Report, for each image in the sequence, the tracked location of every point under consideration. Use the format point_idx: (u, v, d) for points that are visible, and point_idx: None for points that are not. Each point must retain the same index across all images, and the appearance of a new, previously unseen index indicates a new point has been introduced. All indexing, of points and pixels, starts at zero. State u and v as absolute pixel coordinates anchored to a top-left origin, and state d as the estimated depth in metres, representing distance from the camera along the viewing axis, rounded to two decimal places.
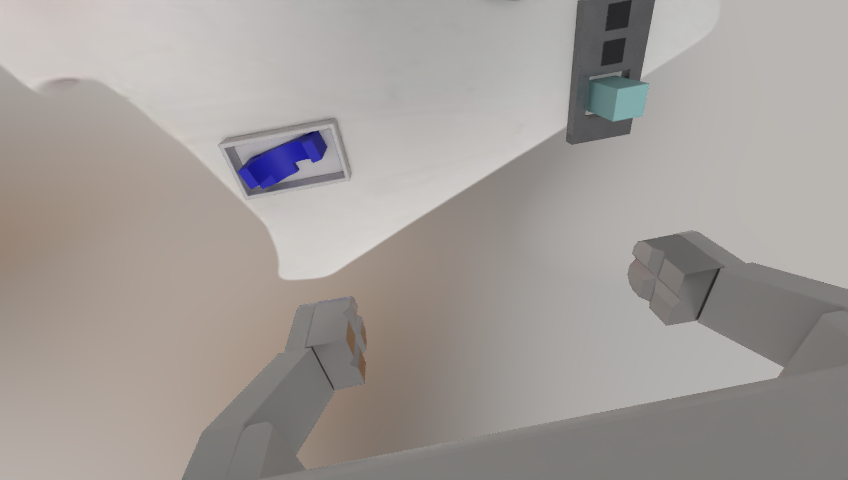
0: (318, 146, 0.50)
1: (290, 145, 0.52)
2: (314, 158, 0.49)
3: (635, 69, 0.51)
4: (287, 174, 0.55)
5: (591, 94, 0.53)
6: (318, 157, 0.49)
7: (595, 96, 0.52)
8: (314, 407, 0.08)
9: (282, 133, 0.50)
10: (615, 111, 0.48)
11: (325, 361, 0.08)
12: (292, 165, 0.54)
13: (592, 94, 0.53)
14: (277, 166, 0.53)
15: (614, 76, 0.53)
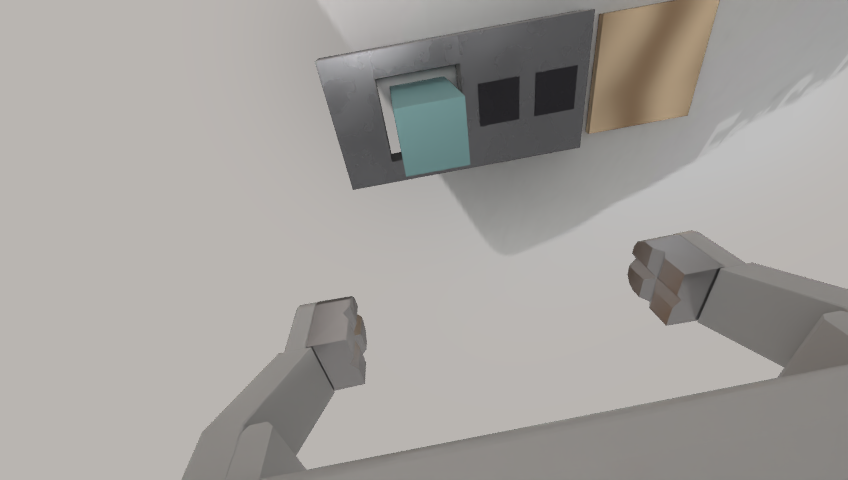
0: None
1: None
2: None
3: None
4: None
5: (423, 83, 0.26)
6: None
7: (424, 86, 0.25)
8: (314, 407, 0.08)
9: None
10: (415, 107, 0.20)
11: (325, 361, 0.08)
12: None
13: (424, 84, 0.25)
14: None
15: None
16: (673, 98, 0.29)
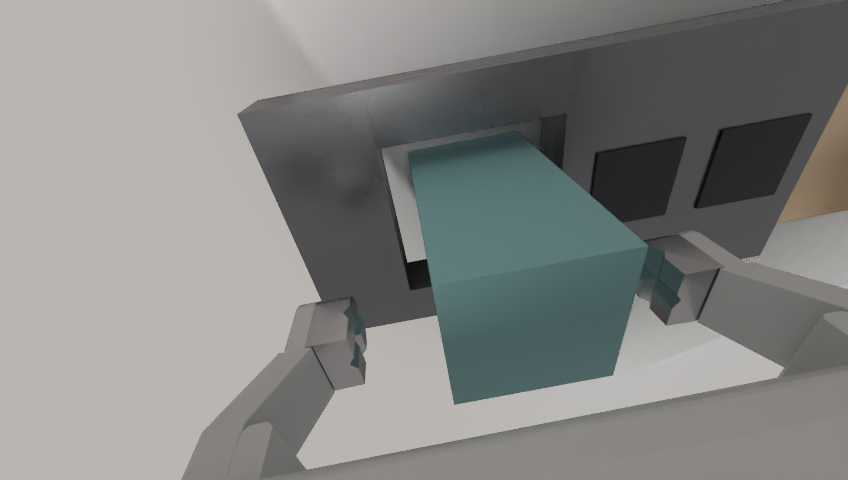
0: None
1: None
2: None
3: None
4: None
5: (480, 152, 0.12)
6: None
7: (486, 165, 0.11)
8: (314, 407, 0.08)
9: None
10: (500, 279, 0.07)
11: (325, 361, 0.08)
12: None
13: (483, 154, 0.12)
14: None
15: None
16: None
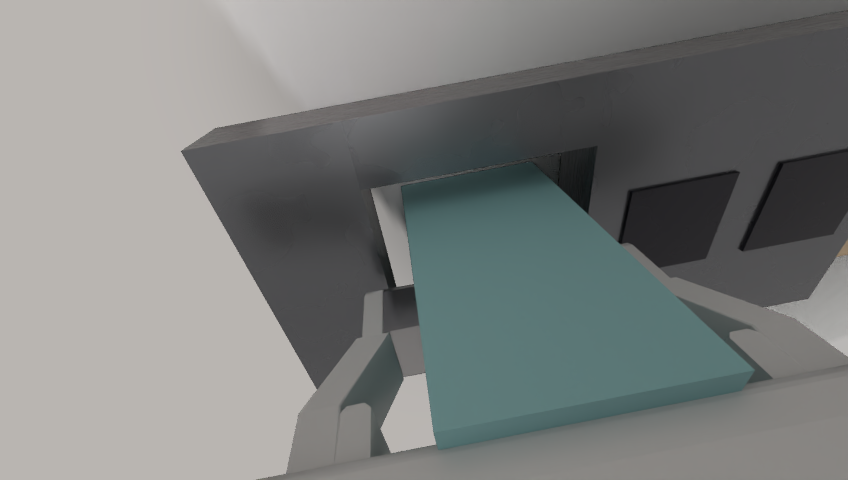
0: None
1: None
2: None
3: None
4: None
5: (489, 190, 0.10)
6: None
7: (498, 210, 0.09)
8: (389, 393, 0.08)
9: None
10: (534, 419, 0.05)
11: (400, 347, 0.08)
12: None
13: (494, 193, 0.10)
14: None
15: None
16: None
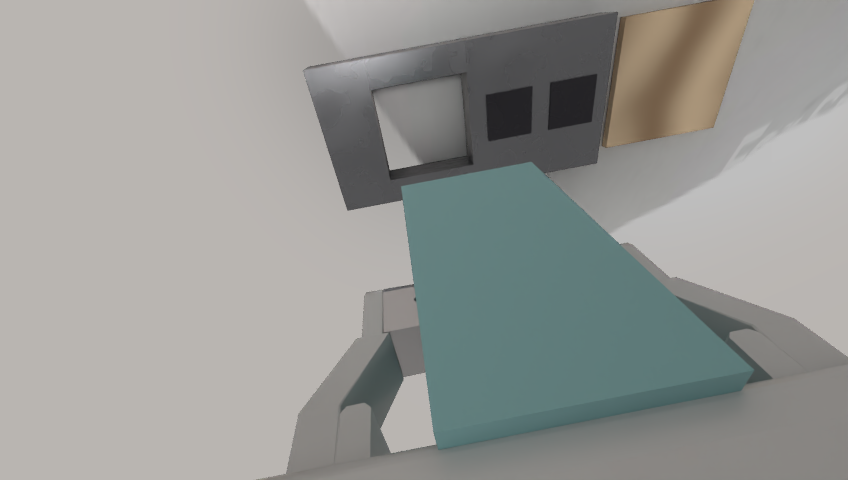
0: None
1: None
2: None
3: None
4: None
5: (489, 190, 0.10)
6: None
7: (498, 210, 0.09)
8: (389, 393, 0.08)
9: None
10: (533, 419, 0.05)
11: (400, 347, 0.08)
12: None
13: (493, 193, 0.10)
14: None
15: None
16: (698, 109, 0.27)
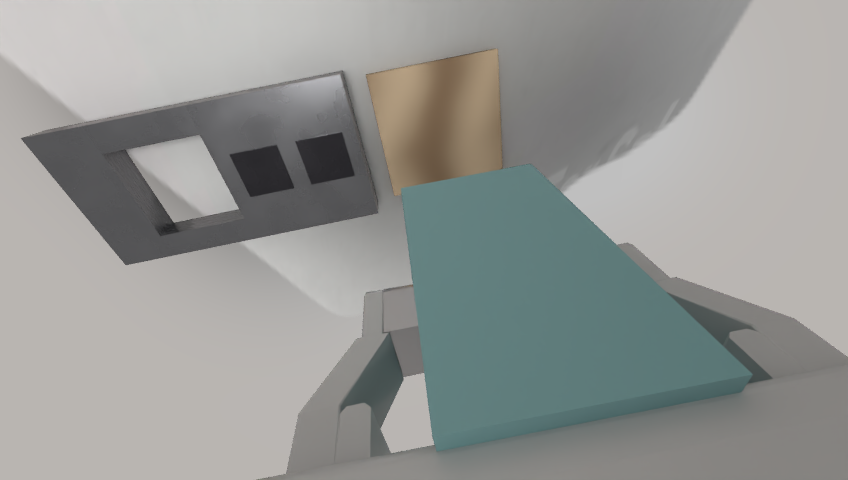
0: None
1: None
2: None
3: (246, 227, 0.26)
4: None
5: (489, 192, 0.10)
6: None
7: (497, 213, 0.09)
8: (389, 393, 0.08)
9: None
10: (532, 423, 0.05)
11: (400, 347, 0.08)
12: None
13: (493, 196, 0.10)
14: None
15: None
16: (480, 157, 0.27)
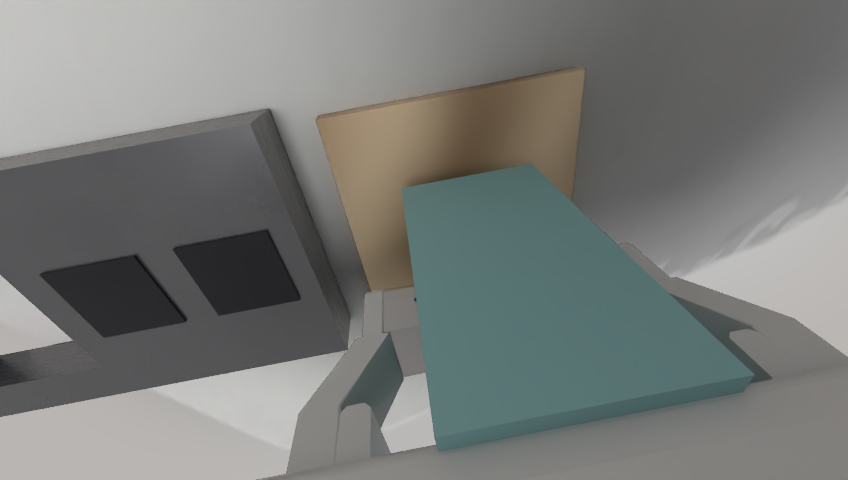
0: None
1: None
2: None
3: (111, 378, 0.14)
4: None
5: (490, 192, 0.10)
6: None
7: (498, 213, 0.09)
8: (389, 393, 0.08)
9: None
10: (534, 423, 0.05)
11: (400, 347, 0.08)
12: None
13: (494, 196, 0.10)
14: None
15: None
16: None
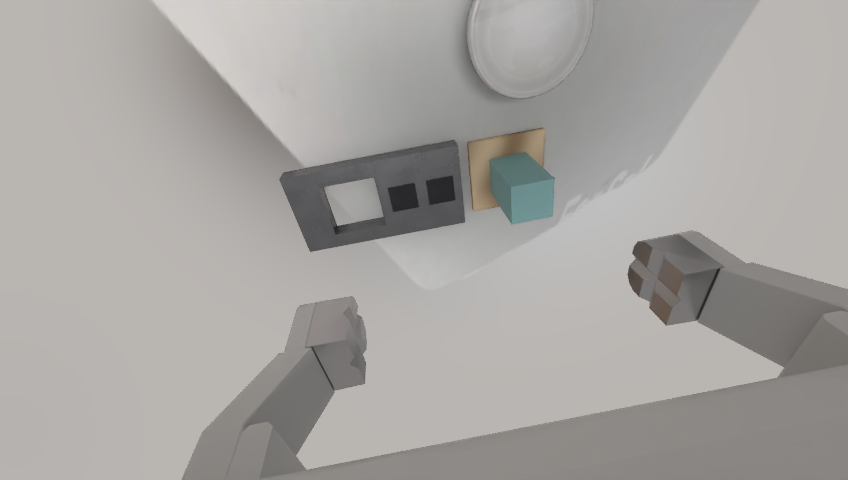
0: None
1: None
2: None
3: (386, 230, 0.42)
4: None
5: (514, 159, 0.39)
6: None
7: (517, 163, 0.38)
8: (314, 407, 0.08)
9: None
10: (524, 185, 0.34)
11: (325, 361, 0.08)
12: None
13: (515, 159, 0.39)
14: None
15: None
16: None
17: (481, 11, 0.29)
